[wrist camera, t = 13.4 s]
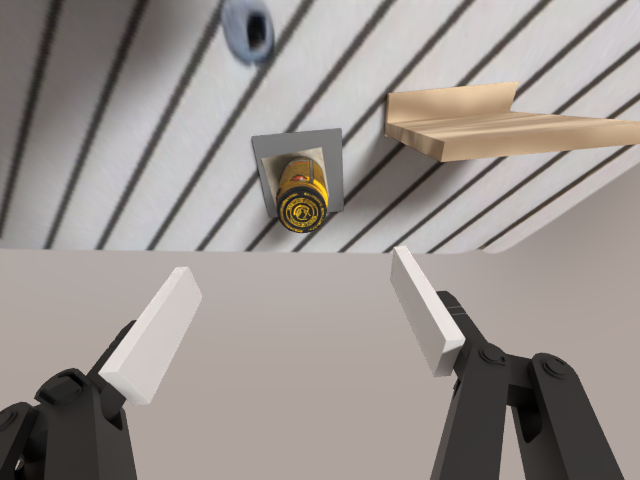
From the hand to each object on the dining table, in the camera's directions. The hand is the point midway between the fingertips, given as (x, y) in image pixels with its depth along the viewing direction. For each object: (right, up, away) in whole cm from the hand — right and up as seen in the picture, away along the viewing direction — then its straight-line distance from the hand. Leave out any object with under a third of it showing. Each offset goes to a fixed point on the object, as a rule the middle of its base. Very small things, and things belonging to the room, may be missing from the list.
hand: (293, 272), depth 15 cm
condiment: (-2, +11, +19) cm, 22 cm away
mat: (-1, +12, +20) cm, 23 cm away
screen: (+18, +19, +16) cm, 31 cm away
